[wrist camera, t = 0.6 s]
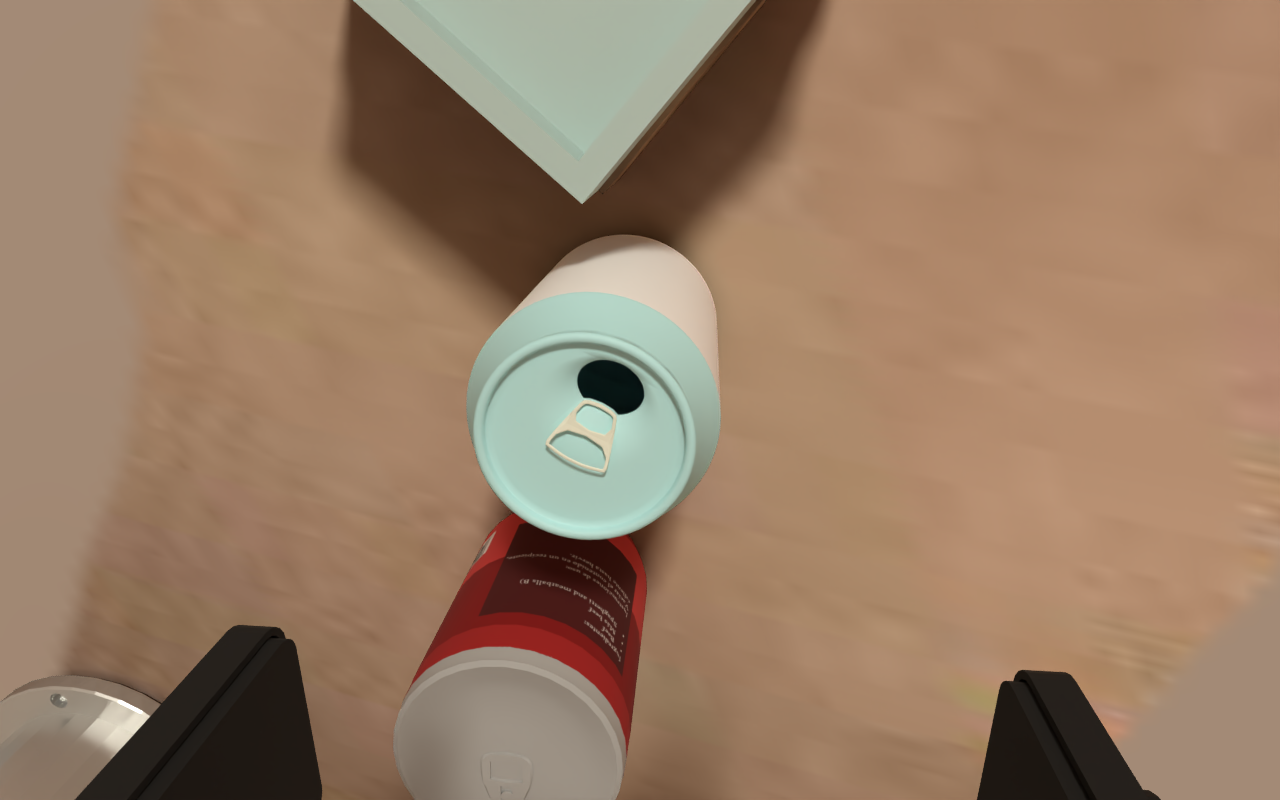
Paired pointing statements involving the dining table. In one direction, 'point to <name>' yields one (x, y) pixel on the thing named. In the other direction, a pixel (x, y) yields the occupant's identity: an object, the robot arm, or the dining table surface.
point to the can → (600, 391)
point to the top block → (564, 68)
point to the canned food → (529, 673)
